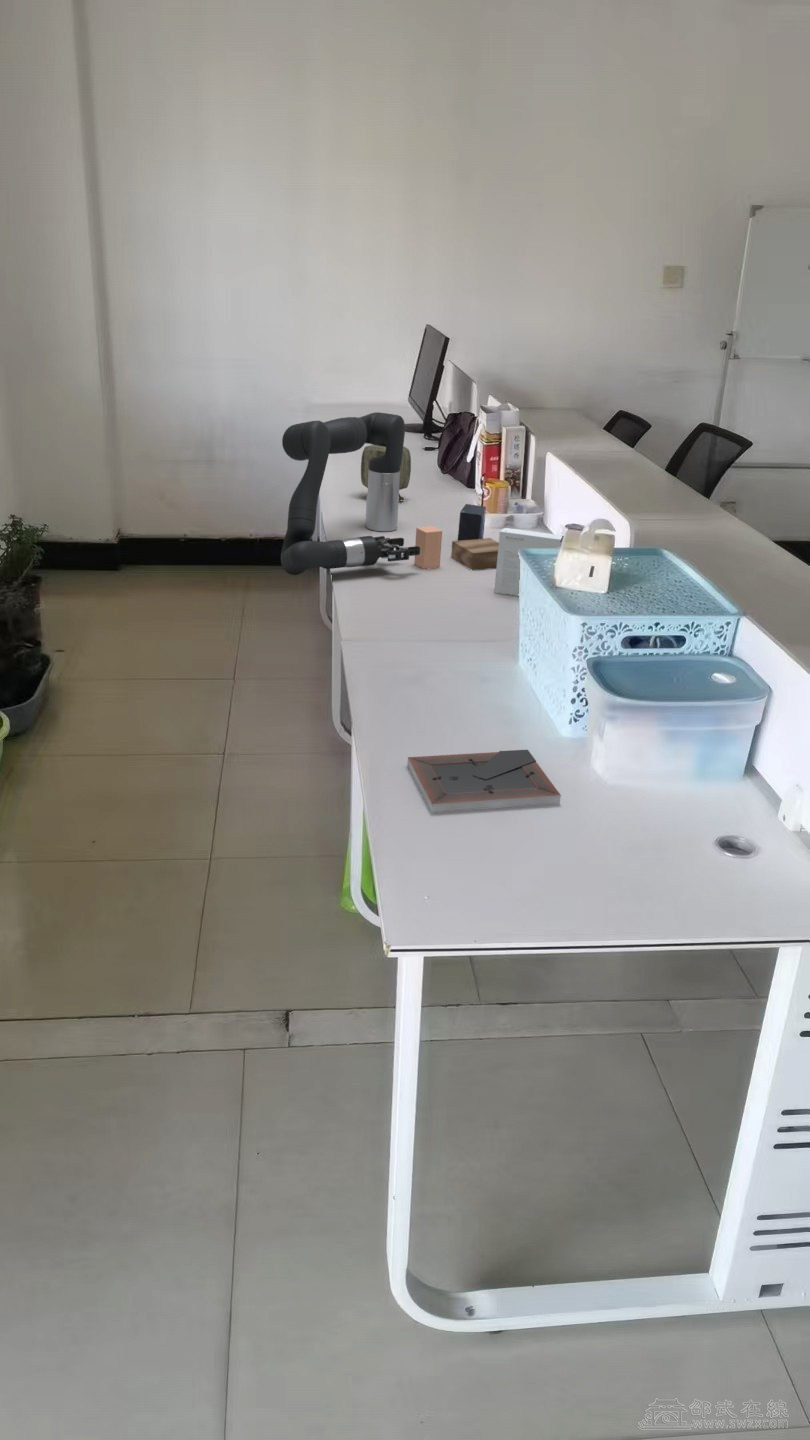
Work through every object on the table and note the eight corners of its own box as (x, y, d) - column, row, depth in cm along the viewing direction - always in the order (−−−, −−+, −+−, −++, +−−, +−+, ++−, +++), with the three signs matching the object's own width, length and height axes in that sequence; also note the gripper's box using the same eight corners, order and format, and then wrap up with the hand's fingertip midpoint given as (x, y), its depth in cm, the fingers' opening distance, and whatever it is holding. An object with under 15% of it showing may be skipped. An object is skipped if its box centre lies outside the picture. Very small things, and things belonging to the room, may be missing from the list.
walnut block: (451, 558, 305) (452, 541, 303) (488, 555, 310) (490, 538, 308) (471, 571, 295) (473, 553, 293) (510, 567, 300) (512, 549, 298)
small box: (478, 550, 313) (482, 514, 309) (456, 548, 314) (459, 511, 310) (484, 541, 322) (487, 505, 318) (462, 538, 324) (464, 503, 319)
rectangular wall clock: (526, 761, 194) (407, 769, 189) (527, 749, 193) (407, 755, 188) (559, 807, 180) (431, 816, 175) (561, 794, 179) (432, 802, 174)
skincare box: (579, 599, 277) (587, 537, 271) (575, 605, 273) (583, 543, 266) (498, 587, 283) (504, 526, 276) (493, 593, 278) (498, 531, 272)
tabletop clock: (409, 502, 361) (413, 424, 350) (394, 506, 354) (398, 427, 343) (372, 494, 368) (375, 417, 357) (356, 499, 360) (359, 421, 350)
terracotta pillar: (414, 564, 297) (416, 527, 293) (430, 562, 300) (432, 526, 295) (423, 569, 293) (426, 532, 289) (439, 567, 296) (442, 530, 292)
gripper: (370, 545, 277) (425, 539, 285) (344, 530, 288) (398, 525, 296) (369, 573, 280) (424, 567, 288) (343, 558, 291) (397, 552, 299)
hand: (411, 545), depth 292 cm, fingers open, 8 cm apart
